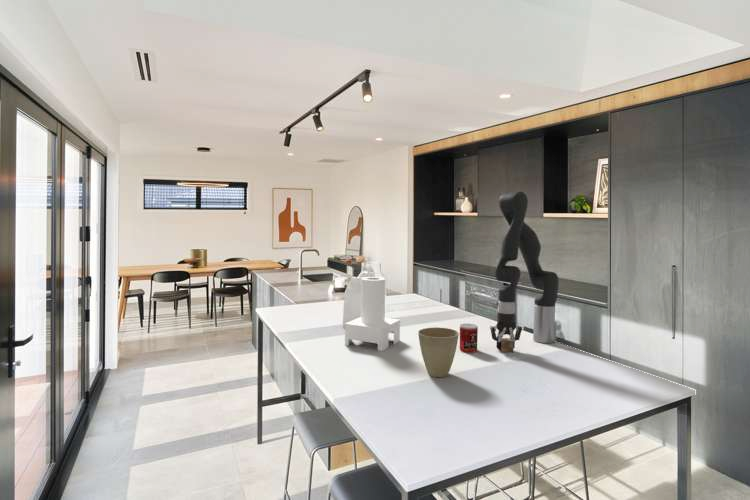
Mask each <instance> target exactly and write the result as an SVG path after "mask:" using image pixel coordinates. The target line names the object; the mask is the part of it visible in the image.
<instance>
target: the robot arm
mask: <svg viewBox="0 0 750 500" xmlns="http://www.w3.org/2000/svg"><path fill="white" fill-rule="evenodd" d="M528 203H529V202H528V197H527V194H526V193H525V192H523V191H512V192H505V193H502V194H501V195H500V196H499V199H498V205H499V208H500V211H501V213H502V215H503V216H504V218H505V220H506V222H507V224H508V226H509V227H508V229H507V230H506V232H505V233H504V236H503V237H502V241H501V249H500V250H501V251H500V257H499V260H498V263H497V266H496V268H495V271H494V278H495V279H496V281H498V282H505V283H510V284H509V286H503V287H502V286H501V287H500V288H498V303H497V315H496V316H497V319H496V322H497V323H496V325H494V326H493V325H491V326H489V330H490V335H491V338H492V340H494V341H496V348H497V350H498V351H499V350H501V342H500V341H501V339H502V338H504V336H505V335H508V336H509V338H510V339H511V340H512V341H514V342H513V350H515V344H516V341H519V340H520V338H521V334H522V330H523V326H521V325H516V312H517V309H516V308H517V307H516V295H517V294H516V292H517V287H518V283H519V281H520V279H521V274H522V273H521V270H520V268H519V267H518V266H517V265H516V266H515V265H507V264H508V263H509V262H514V261H516V260H518V257H519V251H520V253H521V255H522V258H523V261H524V263H525V265H526V269H527V272H528V275H529V276H528V277H529V279H530V282H531V285H532V286H533V287H534V288H535V289H537V290H539V291H542V295H541V296H537V297H536V298H534V302H533V303H534V308H533V309H534V310H533V311H534V313H533V334H532V336H533V337H532V340H533V341H534V342H537V343H541V344H551V343H556V341H557V323H558V322H557V321H555V319H556V304H557V303H556V302H557V300H558V294H559V293H558V292H559V285H560V282H559V276H558V275H557V273H556V272H554V271H548V270H543V268H542V267H541V264H540V261H539V257H540V254H541V249H542V248H541V242H540V240H539V238H538V235H537V233H536V231H534V230H533V229H532V228H531V227H530V225H528V224H527V223H526V222H525V218H526V214H527V209H528V206H529V205H528ZM514 331H515V334H514ZM496 332H497V333H496Z"/></svg>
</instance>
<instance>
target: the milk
mask: <svg viewBox="0 0 750 500" xmlns="http://www.w3.org/2000/svg"><path fill="white" fill-rule="evenodd" d="M361 278H362V277H358V276H351V277H350V280H349V283H348V284H347V286H346V288H345V291H344V293H343V294H344V296H343V309H342V313H343V314H342V328H344V329H345V323H348V322H350V321H353V320H355V319H357V318H360V317H361Z"/></svg>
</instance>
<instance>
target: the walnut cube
mask: <svg viewBox="0 0 750 500" xmlns="http://www.w3.org/2000/svg"><path fill="white" fill-rule="evenodd" d="M500 342H501V350H498V351H499V352H501V353H502V354H503V353H504V354H505V353H506V354H507V353H514V349H513V342H514V341H512V340H511V339H510V337H502V339H501V341H500Z"/></svg>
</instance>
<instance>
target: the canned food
mask: <svg viewBox="0 0 750 500" xmlns="http://www.w3.org/2000/svg"><path fill="white" fill-rule="evenodd" d="M478 333H479V330H478V325H477V324H474V323H461V324H460V325H459V350H460V351H461V352H462V353H467V354H473V353H476V352H477V351H478V336H479V335H478Z"/></svg>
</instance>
